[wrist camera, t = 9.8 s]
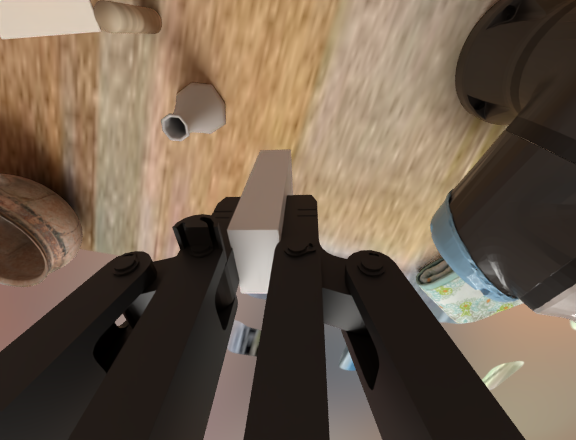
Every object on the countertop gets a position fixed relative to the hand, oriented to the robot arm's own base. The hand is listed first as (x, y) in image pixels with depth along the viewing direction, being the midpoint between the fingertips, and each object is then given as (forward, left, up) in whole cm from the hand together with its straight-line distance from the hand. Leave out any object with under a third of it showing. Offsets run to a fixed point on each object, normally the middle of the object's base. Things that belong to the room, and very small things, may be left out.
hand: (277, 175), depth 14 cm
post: (+18, -9, -28) cm, 35 cm away
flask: (+14, +2, -29) cm, 32 cm away
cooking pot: (+48, +18, -29) cm, 59 cm away
